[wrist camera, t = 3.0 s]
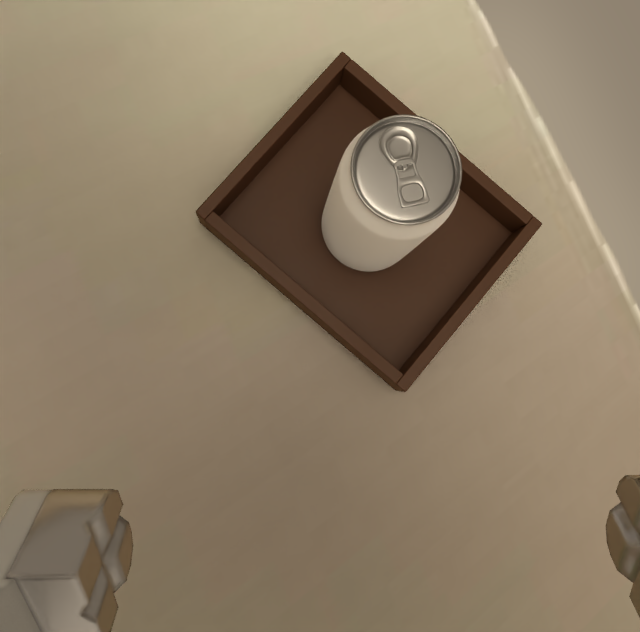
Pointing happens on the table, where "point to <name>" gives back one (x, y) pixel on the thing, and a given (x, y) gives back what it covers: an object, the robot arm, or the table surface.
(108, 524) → the robot arm
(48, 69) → the table surface
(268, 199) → the tray
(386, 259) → the can
